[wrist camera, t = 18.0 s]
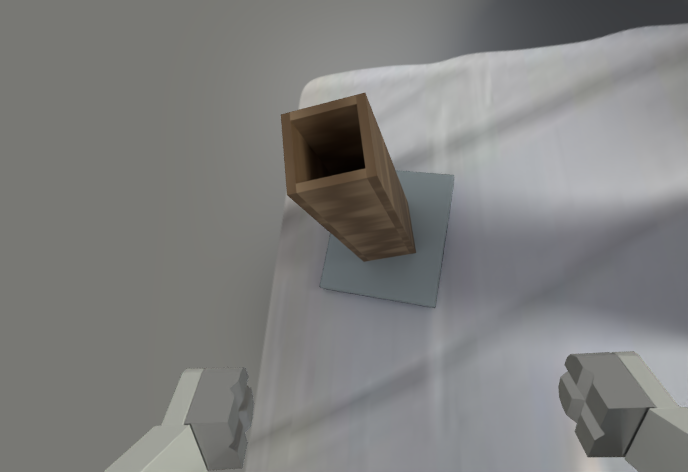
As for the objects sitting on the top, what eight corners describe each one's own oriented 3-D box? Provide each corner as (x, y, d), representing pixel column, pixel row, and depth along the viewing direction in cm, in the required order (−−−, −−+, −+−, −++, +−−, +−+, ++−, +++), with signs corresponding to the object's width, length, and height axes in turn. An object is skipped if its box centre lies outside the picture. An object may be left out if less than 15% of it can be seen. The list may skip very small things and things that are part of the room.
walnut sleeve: (408, 202, 53) (365, 92, 30) (416, 252, 51) (377, 175, 28) (357, 212, 54) (280, 114, 32) (363, 261, 52) (287, 194, 30)
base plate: (454, 179, 53) (452, 152, 46) (435, 307, 50) (430, 300, 43) (347, 170, 57) (330, 144, 50) (323, 288, 54) (301, 278, 47)
